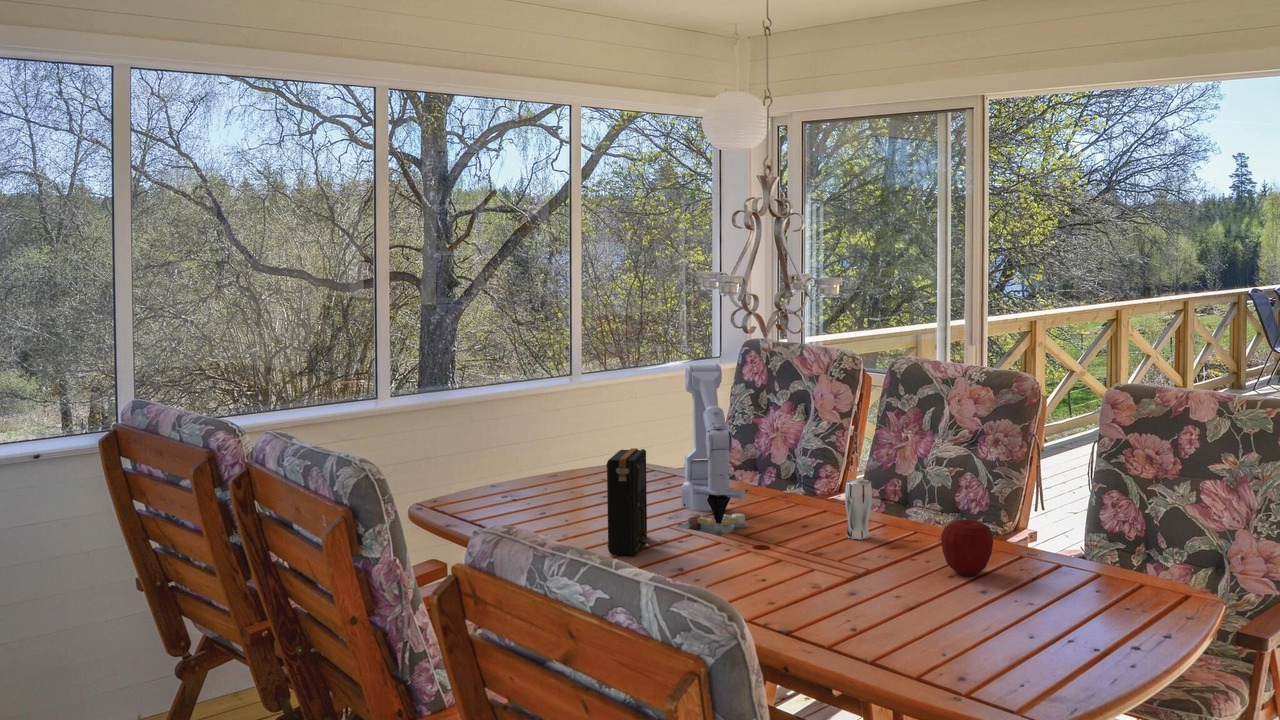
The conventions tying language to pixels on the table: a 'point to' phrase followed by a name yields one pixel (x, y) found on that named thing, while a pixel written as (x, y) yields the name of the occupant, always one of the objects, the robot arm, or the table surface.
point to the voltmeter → (627, 501)
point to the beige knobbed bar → (699, 521)
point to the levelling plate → (713, 528)
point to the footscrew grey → (734, 521)
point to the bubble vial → (726, 516)
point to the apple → (967, 546)
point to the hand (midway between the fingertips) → (718, 522)
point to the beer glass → (858, 508)
